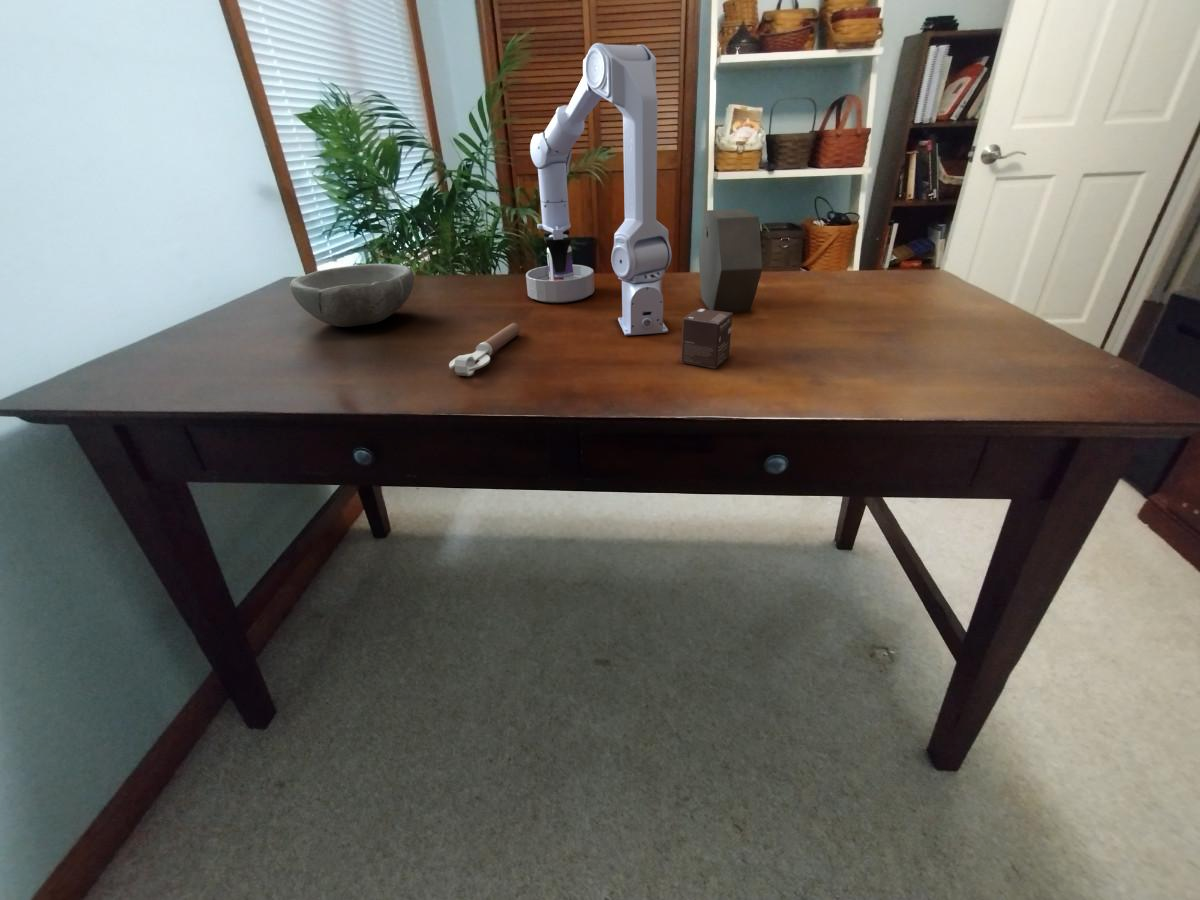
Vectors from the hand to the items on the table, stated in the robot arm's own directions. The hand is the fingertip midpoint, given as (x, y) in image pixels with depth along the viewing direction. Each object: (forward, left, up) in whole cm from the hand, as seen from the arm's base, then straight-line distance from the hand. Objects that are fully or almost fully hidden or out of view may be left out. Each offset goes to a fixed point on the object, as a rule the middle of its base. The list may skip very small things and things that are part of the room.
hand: (559, 268), depth 119 cm
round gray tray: (+1, 0, -6) cm, 6 cm away
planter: (-15, -33, -6) cm, 37 cm away
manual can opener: (-33, +14, -6) cm, 37 cm away
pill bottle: (0, 0, -3) cm, 3 cm away
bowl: (-9, +41, -6) cm, 42 cm away
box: (-43, -21, -6) cm, 48 cm away
